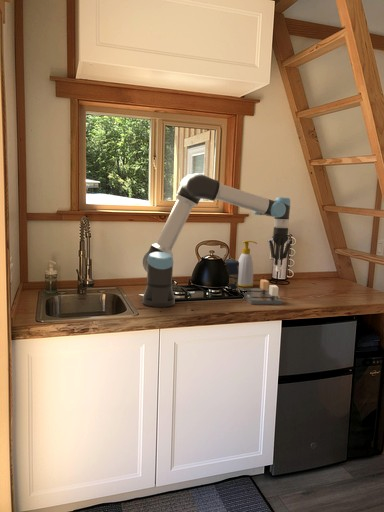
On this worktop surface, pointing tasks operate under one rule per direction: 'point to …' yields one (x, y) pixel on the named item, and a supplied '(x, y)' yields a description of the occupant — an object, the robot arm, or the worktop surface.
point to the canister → (232, 272)
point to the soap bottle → (245, 267)
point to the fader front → (273, 290)
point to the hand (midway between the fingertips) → (277, 271)
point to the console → (260, 296)
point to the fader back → (264, 284)
